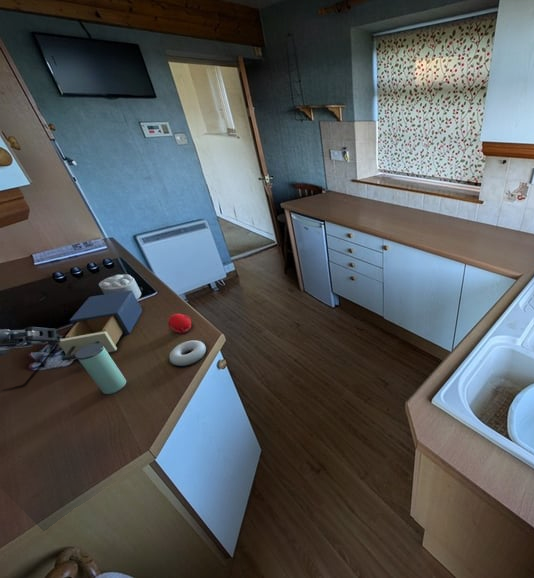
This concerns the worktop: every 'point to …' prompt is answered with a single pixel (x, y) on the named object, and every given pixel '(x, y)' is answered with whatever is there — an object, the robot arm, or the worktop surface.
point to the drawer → (92, 335)
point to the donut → (182, 360)
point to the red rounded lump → (179, 323)
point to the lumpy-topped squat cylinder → (120, 285)
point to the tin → (101, 368)
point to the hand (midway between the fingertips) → (31, 344)
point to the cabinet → (111, 309)
